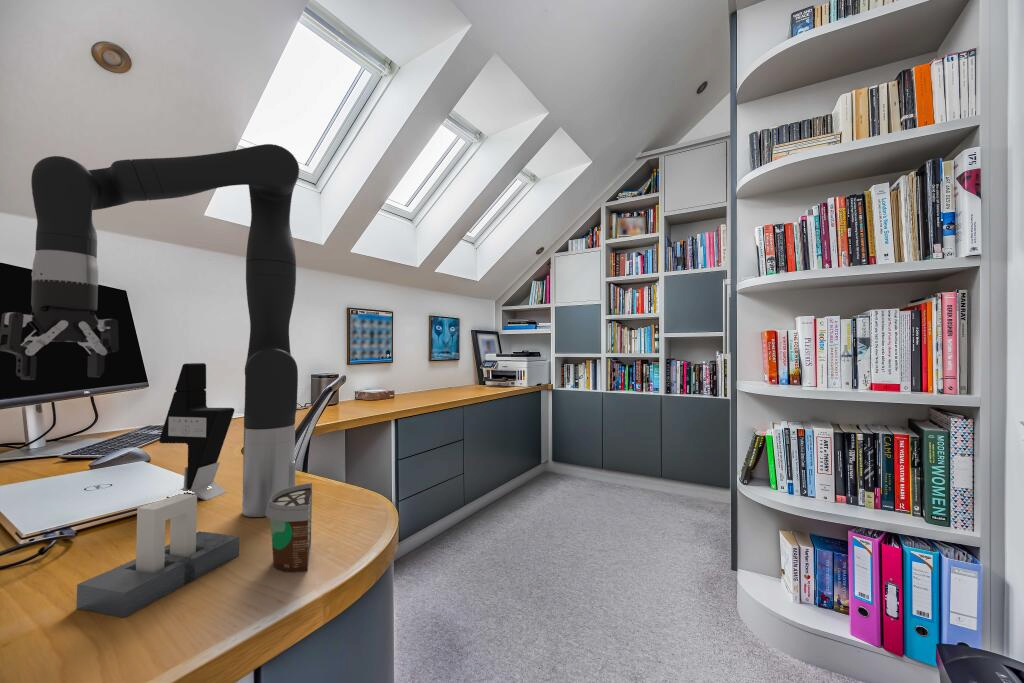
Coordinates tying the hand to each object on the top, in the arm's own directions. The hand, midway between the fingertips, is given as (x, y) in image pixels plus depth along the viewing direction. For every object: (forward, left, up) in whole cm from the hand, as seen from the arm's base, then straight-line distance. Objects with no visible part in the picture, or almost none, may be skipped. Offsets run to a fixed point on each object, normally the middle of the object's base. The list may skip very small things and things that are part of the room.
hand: (63, 378), depth 69 cm
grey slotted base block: (-17, +21, -28) cm, 39 cm away
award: (-16, -21, -28) cm, 39 cm away
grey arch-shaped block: (-17, +21, -28) cm, 39 cm away
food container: (-32, +24, -28) cm, 49 cm away
